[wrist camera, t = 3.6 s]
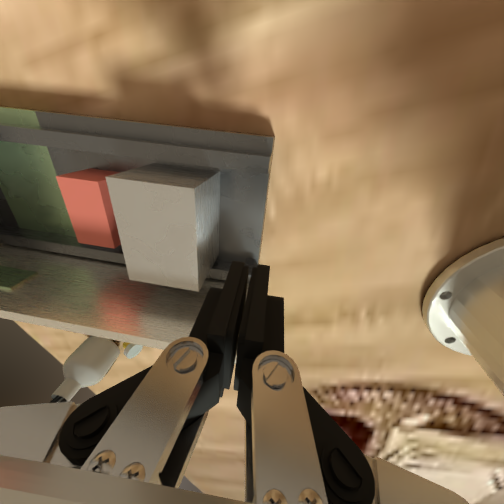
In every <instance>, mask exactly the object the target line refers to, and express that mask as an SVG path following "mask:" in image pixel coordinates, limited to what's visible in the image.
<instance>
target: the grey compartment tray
mask: <svg viewBox="0 0 504 504" xmlns="http://www.w3.org/2000/svg"><path fill="white" fill-rule="evenodd" d="M274 140H275V136H266V135H257V134H247V133H238V132H229V131H220V130H211V129H202V128H193V127H184V126H175V125H166V124H157V123H148V122H139V121H130V120H121V119H112V118H103V117H94V116H85V115H76V114H67V113H58V112H49V111H40V110H31V109H22V108H12V107H3V106H0V318H5V319H10V320H15V321H20V322H25V323H30V324H35V325H41V326H46V327H51V328H56V329H61V330H66V331H71V332H76V333H81V334H86V335H91V336H97V337H102V338H107V339H112V340H117V341H122V342H127V343H132V344H137V345H142V346H147V347H152V348H158V349H163V350H164V349H165V348H166V347H167V346H168V345H169V344H170V343H172V342H173V341H175V340H177V339H180V338H183V337H189V335H190V332H191V330H192V328H193V325H194V323H195V321H196V318H197V316H198V314H199V312H200V309H201V307H202V305H203V302H204V300H205V298H206V295H207V293H208V291H209V289H210V288H211V287H214V288H221V289H223V286H224V283H225V280H226V278H227V275H228V272H229V269H230V266H231V264H232V261H238V262H245V266H249V272H248V282H247V292H248V287H249V282H250V277H251V272H252V268H253V267H257V266H258V264H259V258H260V250H261V242H262V234H263V227H264V219H265V211H266V203H267V195H268V187H269V179H270V171H271V164H272V156H273V148H274ZM151 163H159V164H167V165H175V166H183V167H191V168H199V169H207V170H215V171H220V212H219V255H218V257H217V259H216V261H215V262H214V264H213V266H212V268H211V270H210V272H209V273H208V275H207V277H206V279H205V281H204V283H203V284H202V286H201V288H200V290H199V292H198V291H192V290H186V289H181V288H175V287H169V286H163V285H157V284H151V283H146V282H140V281H134V280H129V275H128V271H127V267H126V263H125V258H124V254H123V250H122V246H121V245H119V246H118V247H116V248H115V249H114V248H108V247H101V246H95V245H89V244H83V243H78V240H77V237H76V234H75V231H74V228H73V226H72V223H71V220H70V217H69V214H68V211H67V208H66V205H65V202H64V199H63V196H62V194H61V191H60V188H59V185H58V182H57V179H56V176H58V175H63V174H67V173H72V172H76V171H81V170H85V169H89V168H92V169H99V170H107V171H115V172H124V171H127V170H131V169H134V168H137V167H141V166H144V165H148V164H151ZM247 292H246V297H247ZM236 357H237V353H236ZM234 364H236V358H235V363H234Z"/></svg>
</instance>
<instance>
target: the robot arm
mask: <svg viewBox="0 0 504 504" xmlns="http://www.w3.org/2000/svg"><path fill="white" fill-rule="evenodd" d="M269 270H270V266H267V265H260V264H258V266H257V267H253V268H252V272H251V277H250V282H249V287H248V292H247V282H248V272H249V266H245V262H238V261H232V264H231V266H230V269H229V272H228V275H227V278H226V280H225V283H224V286H223V289H221V288H214V287H211V288H210V289H209V291H208V293H207V295H206V298H205V300H204V302H203V305H202V307H201V309H200V312H199V314H198V316H197V318H196V321H195V323H194V325H193V328H192V330H191V332H190V335H189V337H183V338H180V339H177V340H175V341H173V342H172V343H170V344H169V345H168V346H167V347H166V348H165V349H164V351H163V352H162V353H161V355H160V356H159V358H158V359H157V361H156V362H155V363H154V365H153V366H151V367H149V368H147V369H145V370H143V371H141V372H139V373H137V374H135V375H134V376H132V377H130V378H128V379H126V380H124V381H122V382H120V383H118V384H117V385H115V386H113V387H111V388H109V389H107V390H105V391H103V392H101V393H100V394H98V395H96V396H94V397H92V398H90V399H89V400H87V401H85V402H84V403H82V404H75V403H74V402H73V401H71V402H58V403H46V404H35V405H22V406H9V407H1V408H0V504H469V503H468V502H467V501H466V500H465V499H464V498H462V497H461V496H459V495H458V494H456V493H455V492H453V491H451V490H449V489H447V488H444V487H442V486H440V485H438V484H436V483H433V482H431V481H429V480H427V479H425V478H422V477H420V476H418V475H416V474H414V473H411V472H409V471H407V470H405V469H403V468H400V467H398V466H396V465H394V464H392V463H389V462H387V461H385V460H383V459H381V458H379V457H375V458H374V459H373V458H371V457H369V456H367V455H364V454H363V453H362V451H361V450H360V449H359V447H358V446H357V445H356V444H355V443H354V442H353V441H352V440H351V439H350V438H349V436H348V435H347V434H346V433H345V432H344V431H343V430H342V429H341V428H340V427H339V426H338V424H337V423H336V422H335V421H334V420H333V419H332V418H331V417H330V416H329V415H328V413H327V412H326V411H325V410H324V409H323V408H322V407H321V406H320V405H319V404H318V402H317V401H316V400H315V399H314V398H313V397H312V396H311V395H310V394H309V393H308V392H307V390H306V389H305V388H304V387H303V386H302V382H301V377H300V372H299V370H298V367H297V365H296V363H295V362H294V361H293V359H292V358H290V357H289V356H288V355H287V354H285V353H284V298H282V297H275V296H269V295H267V293H268V282H269ZM246 292H247V297H246ZM422 313H423V320H424V322H425V324H426V326H427V328H428V329H429V331H430V332H431V333H432V335H433V336H434V337H435V339H436V340H437V341H439V342H440V343H441V344H442V345H444V346H446V347H448V348H450V349H452V350H454V351H457V352H460V353H463V354H466V355H472V356H473V357H474V358H475V360H476V361H477V362H478V364H479V365H480V366H481V367H482V369H483V370H484V371H485V372H486V374H487V375H488V376H489V378H490V379H491V380H492V381H493V383H494V384H495V385H496V387H497V388H498V389H499V390H500V392H501V393H502V394H503V395H504V238H502V239H498V240H496V241H493V242H491V243H488V244H486V245H484V246H481V247H479V248H477V249H475V250H473V251H471V252H470V253H468V254H466V255H464V256H462V257H461V258H459V259H458V260H457V261H455V262H454V263H453V264H451V265H450V266H449V267H447V268H446V269H445V270H444V271H443V272H442V273H441V274H440V275H439V276H438V277H437V278H436V279H435V281H434V282H433V283H432V285H431V286H430V288H429V289H428V291H427V293H426V296H425V298H424V300H423V307H422ZM236 353H237V357H236ZM235 358H236V368H235V380H234V390H237V391H238V398H237V407H238V409H239V410H240V412H241V413H242V415H243V417H244V418H245V502H243V501H238V500H233V499H228V498H223V497H218V496H213V495H208V494H203V493H198V492H193V491H188V490H183V489H179V486H180V483H181V481H182V478H183V476H184V473H185V471H186V468H187V466H188V463H189V461H190V458H191V456H192V453H193V451H194V448H195V446H196V443H197V440H198V438H199V435H200V433H201V430H202V428H203V425H204V423H205V420H206V418H207V415H208V411H209V409H211V408H212V407H213V406H215V405H216V404H217V403H219V398H220V397H222V396H223V391H224V388H226V389H229V388H230V383H231V378H232V373H233V368H234V363H235Z"/></svg>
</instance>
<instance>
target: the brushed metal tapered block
mask: <svg viewBox="0 0 504 504" xmlns="http://www.w3.org/2000/svg"><path fill="white" fill-rule="evenodd" d="M105 178H106V182H107V186H108V190H109V195H110V199H111V203H112V207H113V212H114V216H115V220H116V224H117V229H118V233H119V237H120V241H121V246H122V250H123V254H124V258H125V263H126V267H127V271H128V275H129V280H134V281H140V282H146V283H151V284H157V285H163V286H169V287H175V288H181V289H186V290H192V291H198V292H199V290H200V288H201V286H202V284H203V283H204V281H205V279H206V277H207V275H208V273H209V272H210V270H211V268H212V266H213V264H214V262H215V261H216V259H217V257H218V255H219V212H220V171H215V170H207V169H199V168H191V167H183V166H175V165H167V164H159V163H151V164H148V165H144V166H141V167H137V168H134V169H131V170H127V171H124V172H120V173H117V174H113V175H110V176H106V177H105Z"/></svg>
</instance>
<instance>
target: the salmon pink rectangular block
mask: <svg viewBox="0 0 504 504" xmlns="http://www.w3.org/2000/svg"><path fill="white" fill-rule="evenodd" d="M117 173H120V172H115V171H107V170H99V169H92V168H89V169H85V170H81V171H76V172H72V173H67V174H63V175H58V176H56V179H57V182H58V185H59V188H60V191H61V194H62V196H63V199H64V202H65V205H66V208H67V211H68V214H69V217H70V220H71V223H72V226H73V228H74V231H75V234H76V237H77V240H78V243H83V244H89V245H95V246H101V247H108V248H114V249H115V248H116V247H118V246H119V245H121V241H120V237H119V233H118V229H117V224H116V220H115V216H114V212H113V207H112V203H111V199H110V195H109V190H108V186H107V182H106V178H105V177H106V176H110V175H113V174H117Z"/></svg>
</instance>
